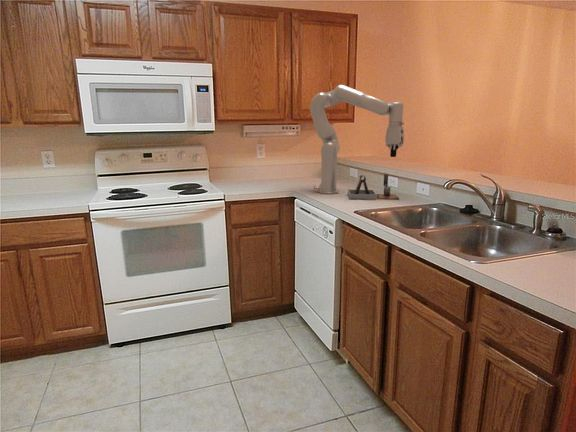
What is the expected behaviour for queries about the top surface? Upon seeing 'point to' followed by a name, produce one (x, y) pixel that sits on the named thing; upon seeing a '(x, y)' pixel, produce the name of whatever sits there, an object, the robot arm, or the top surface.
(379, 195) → the crank base
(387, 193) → the crank
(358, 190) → the door stopper
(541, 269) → the top surface
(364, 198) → the tray
